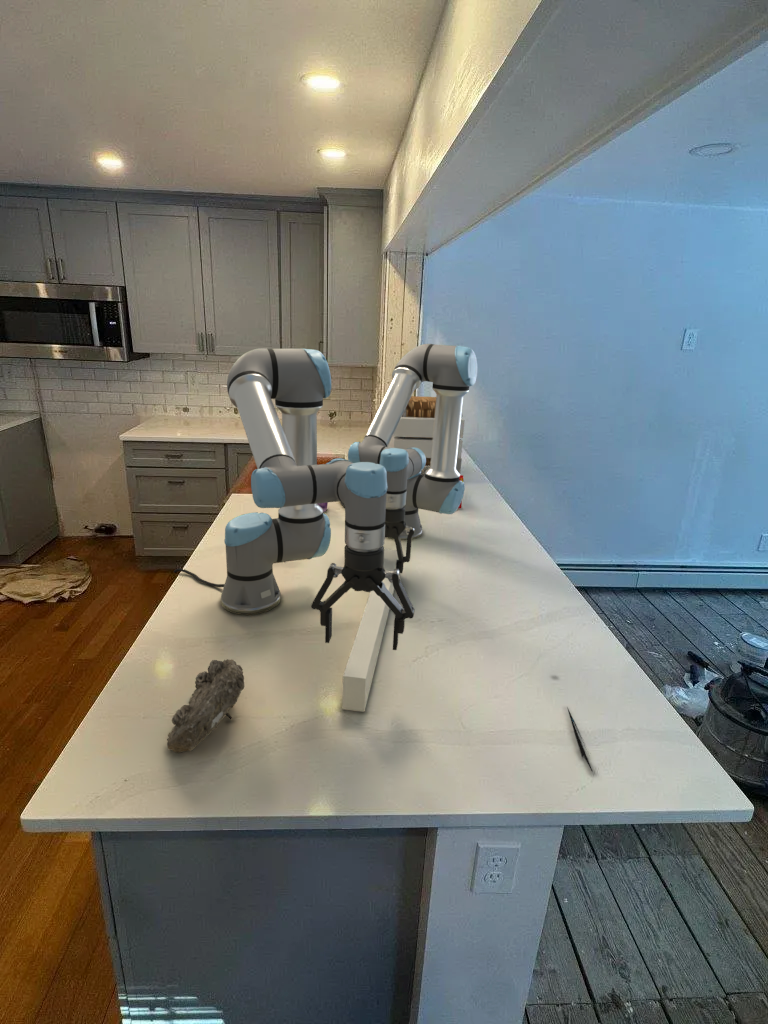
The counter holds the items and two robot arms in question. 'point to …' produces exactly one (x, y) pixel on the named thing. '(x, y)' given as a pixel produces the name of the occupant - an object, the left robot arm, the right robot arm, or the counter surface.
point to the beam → (367, 645)
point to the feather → (579, 740)
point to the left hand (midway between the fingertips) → (361, 642)
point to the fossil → (206, 705)
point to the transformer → (420, 428)
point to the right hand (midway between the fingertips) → (387, 581)
